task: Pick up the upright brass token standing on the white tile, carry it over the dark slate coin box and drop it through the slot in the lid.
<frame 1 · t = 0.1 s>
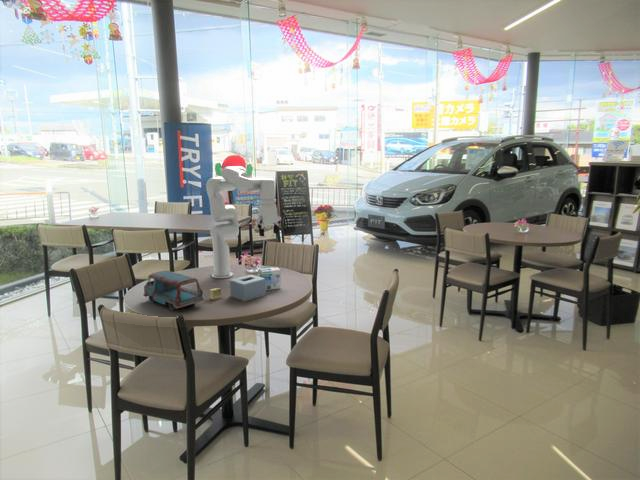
hand: (268, 234, 240), 31 cm above the table, fingers open, 9 cm apart
coin box: (248, 295, 239), on the table
light bulb box: (270, 288, 253), on the table
token: (215, 298, 235), on the table
toy van: (173, 304, 228), on the table
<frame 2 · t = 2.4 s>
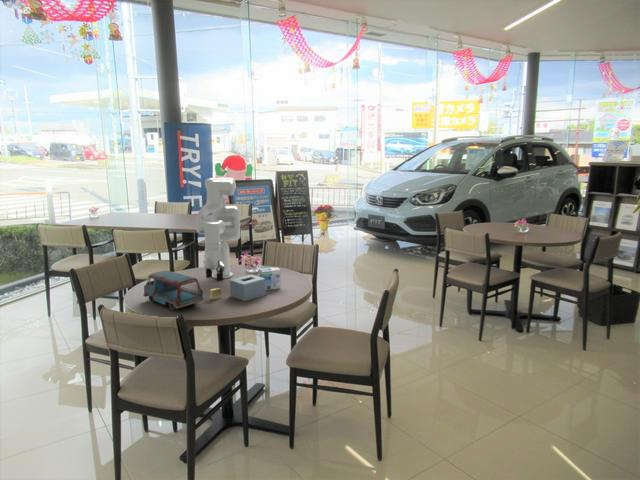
hand: (214, 279, 233), 10 cm above the table, fingers open, 9 cm apart
nothing on the table moved.
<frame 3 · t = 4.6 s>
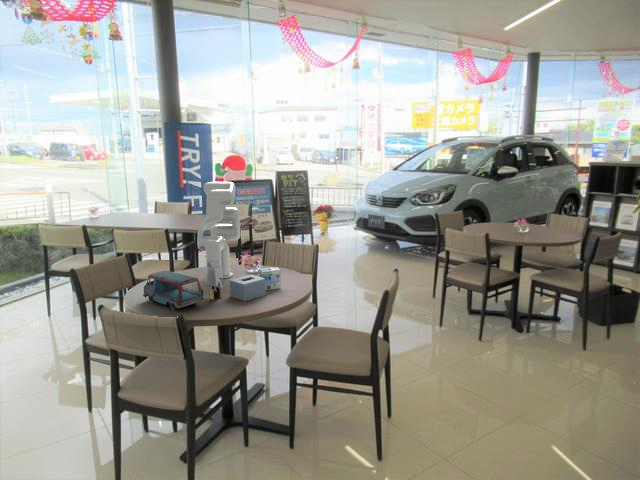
hand: (215, 297, 235), 0 cm above the table, fingers closed on token, 2 cm apart
token: (215, 298, 235), on the table, touching gripper
everything else where it was.
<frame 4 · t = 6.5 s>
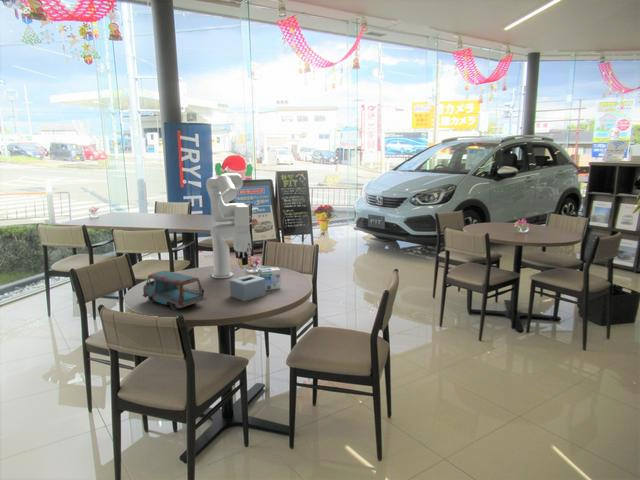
hand: (243, 264, 235), 17 cm above the table, fingers closed on token
token: (245, 265, 236), point 16 cm above the table, tilted 29°, touching gripper
everything else where it was.
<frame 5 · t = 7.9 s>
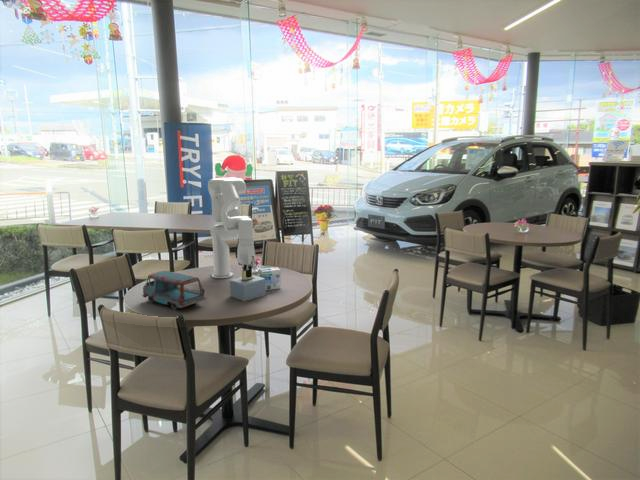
hand: (247, 276, 237), 10 cm above the table, fingers closed on token
token: (247, 279, 237), point 9 cm above the table, touching gripper
everything else where it was.
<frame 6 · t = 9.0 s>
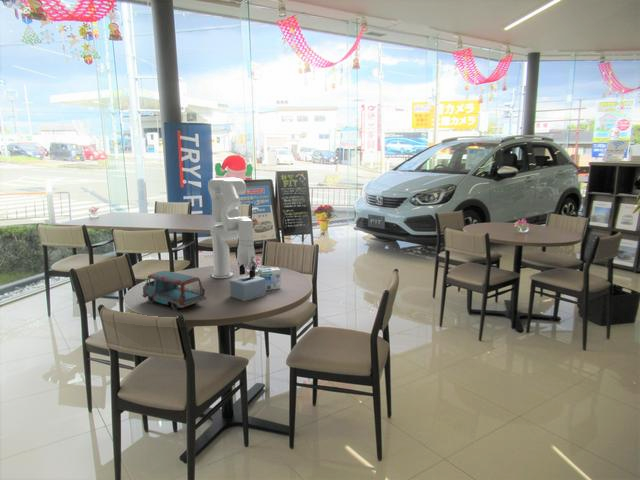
hand: (247, 275, 237), 11 cm above the table, fingers open, 7 cm apart
token: (247, 295, 238), point 1 cm above the table, touching coin box
everything else where it was.
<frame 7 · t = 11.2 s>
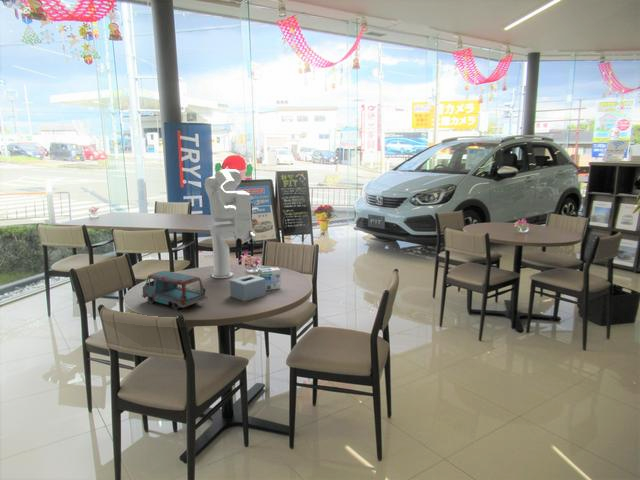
hand: (244, 249, 237), 24 cm above the table, fingers open, 9 cm apart
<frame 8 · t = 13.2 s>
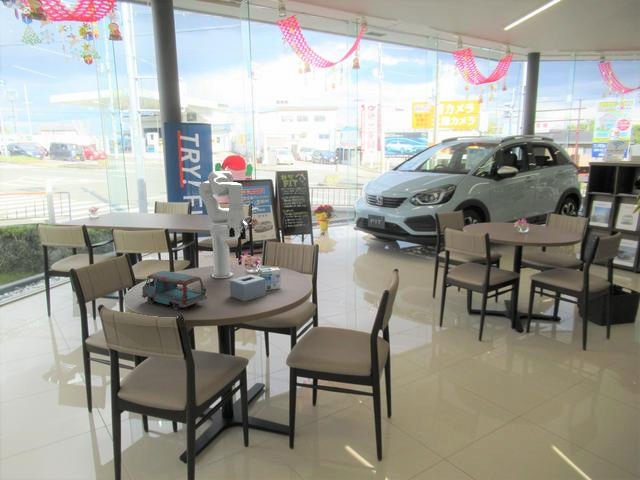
hand: (237, 238, 247), 28 cm above the table, fingers open, 9 cm apart
at the end: token inside the target area on the coin box (1.3 cm from its centre), point 0.6 cm above the coin box's base; the gripper is holding nothing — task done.
